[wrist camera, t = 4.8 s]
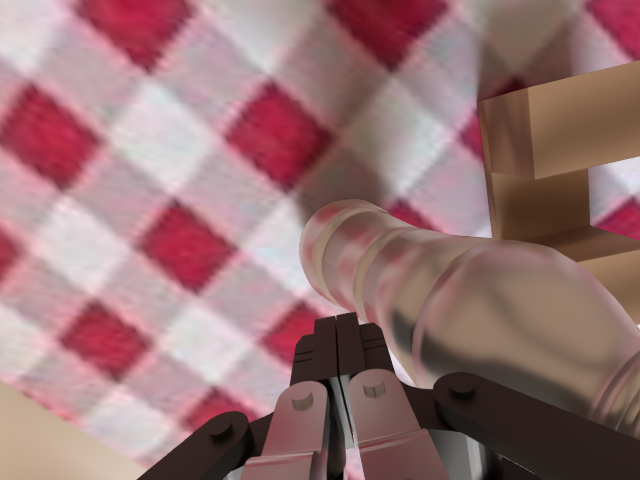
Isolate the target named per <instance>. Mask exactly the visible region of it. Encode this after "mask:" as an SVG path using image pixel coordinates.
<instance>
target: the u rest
mask: <svg viewBox="0 0 640 480" xmlns="http://www.w3.org/2000/svg"><path fill="white" fill-rule="evenodd" d="M477 106H478V115H479V123H480V132H481V141H482V150H483V158H484V167H485V176H486V185H487V193H488V202H489V211H490V220H491V228H492V237H493V238H494V239H505V240H517V241H522V242H528V243H534V244H540V245H543V246H547V247H550V248H553V249H555V250H556V251H558V252H560V253H561V254H563V255H565V256H566V257H568V258H570V259H571V260H573V261H575V262H576V263H578V264H579V265H581V266H583V267H584V268H586V269H587V270H589V271H590V272H591V273H592V274H593V275H594V276H595V277H596V278H597V279H598V280H599V282H600V283H601V284H602V285H603V286H604V287H605V288H606V289H607V290H608V291H609V292H610V293H611V294H612V295H613V296H614V297H615V298H616V300H617V301H618V302H619V303H620V304H621V306H622V307H623V308H624V309H625V311H626V312H627V313H628V315H629V316H630V317H631V319H632V320H633V321H634V323H635V324H636V325H638V324H640V241H638V240H635V239H632V238H628V237H625V236H622V235H619V234H615V233H612V232H609V231H606V230H602V229H599V228H596V227H592V226H590V209H589V185H588V168H589V167H594V166H598V165H603V164H607V163H612V162H616V161H621V160H625V159H629V158H634V157H638V156H640V61H636V62H632V63H627V64H623V65H619V66H615V67H611V68H607V69H603V70H598V71H594V72H590V73H586V74H582V75H578V76H574V77H569V78H565V79H561V80H557V81H553V82H549V83H545V84H540V85H536V86H532V87H528V88H524V89H521V90H517V91H514V92H510V93H507V94H503V95H500V96H496V97H493V98H489V99H486V100H482V101H479V102H477Z"/></svg>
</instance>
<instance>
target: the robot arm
mask: <svg viewBox="0 0 640 480" xmlns="http://www.w3.org/2000/svg"><path fill="white" fill-rule="evenodd" d="M336 319H337V321H336ZM293 362H294V364H293V367H292V374H291V380H290V387H289V388H287V389H286V390H285V391H284V392H283V393H282V394H281V395H280V396H279V398H278V400H277V404H276V407H275V410H274V412H272V413H271V414H269V415H267V416H265V417H262V418H260V419H258V420H255V421H253V422H250V423H249V421H248V418H247V416H246V415H245V414H243V413H241V412H237V411H231V412H225V413H222V414H219V415H217V416H215V417H213V418H212V419H210V420H209V421H207V422H206V423H205V424H204V425H203V426H201V427H200V428H199V429H198V430H196V431H195V432H194V433H193V434H192V435H190V436H189V437H188V438H187V439H185V440H184V441H183V442H182V443H181V444H179V445H178V446H177V447H176V448H174V449H173V450H172V451H171V452H170V453H168V454H167V455H166V456H165V457H163V458H162V459H161V460H160V461H159V462H157V463H156V464H155V465H154V466H153V467H151V468H150V469H149V470H148V471H146V472H145V473H144V474H143V475H142V476H140V477H139V478H138V479H137V480H348V474H347V469H346V465H345V464H346V450H345V449H348V448H354V439H353V434H354V438H355V442H356V446H357V447H359V452H360V457H361V462H362V467H363V472H364V477H365V480H640V440H638V439H636V438H633V437H631V436H628V435H626V434H623V433H621V432H618V431H616V430H613V429H611V428H608V427H606V426H603V425H601V424H598V423H596V422H593V421H591V420H588V419H586V418H583V417H581V416H578V415H576V414H573V413H571V412H568V411H566V410H563V409H561V408H558V407H556V406H553V405H551V404H548V403H546V402H543V401H541V400H538V399H536V398H533V397H531V396H528V395H526V394H523V393H521V392H519V391H516V390H514V389H511V388H509V387H506V386H504V385H501V384H499V383H496V382H494V381H491V380H489V379H486V378H484V377H481V376H479V375H476V374H472V373H467V372H454V373H449V374H446V375H444V376H442V377H440V378H439V379H438V380H437V381H436V382H435V383H434V385H433V389H423V388H416V387H412V386H409V385H407V384H405V383H403V382H402V381H400V380H399V378H398V377H397V376H396V374H395V371H394V368H393V364H392V361H391V358H390V354H389V351H388V348H387V344H386V341H385V338H384V334H383V331H382V328H380V327H379V326H378V325H376V324H375V323H374V322H372V323H367V324H362V325H359V322H358V318H357V313H356V312H351V313H346V314H341V315H336V317H335V316H331V317H325V318H320V319H315V326H314V334H310V335H305V336H302V338H301V339H300V340H299V342H298V343H297V344H296V348H295V356H294V361H293ZM503 456H504V457H503ZM505 457H506V458H505ZM507 458H508V459H509V460H508V459H507ZM510 460H511V461H510ZM512 461H513V462H512ZM514 462H515V463H514ZM516 463H517V464H518V465H517V464H516ZM519 465H520V466H519ZM521 466H522V467H521ZM523 467H524V468H523ZM526 469H528V470H529V471H528V470H526ZM530 471H531V472H530ZM532 472H533V473H534V474H533V473H532ZM535 474H536V475H535Z"/></svg>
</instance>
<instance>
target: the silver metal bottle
mask: <svg viewBox="0 0 640 480" xmlns="http://www.w3.org/2000/svg"><path fill="white" fill-rule="evenodd" d="M299 255H300V262H301V265H302V268H303V270H304V273H305V275H306V277H307V279H308V281H309V283H310V284H311V286H312V287H313V288H314V290H315V291H316V292H317V293H318V294H320V295H321V296H323V297H324V298H326V299H327V300H329V301H330V302H332V303H334V304H335V305H338V306H340V307H343V308H345V309H347V310H348V311H350V312H356V313H357V317H358V318H359V319H361V320H362V321H364V322H365V323H366V324H367V323H372V322H374V323H375V324H376V325H378V326H379V327H380V328H382V331H383V334H384V338H385V341H386V344H387V347H388V348H389V349H390V350H391V352H392V353H393V354H394V356H395V357H396V359H397V360H398V361H399V363H400V364H401V366H402V367H403V368H404V370H405V371H406V373H407V374H408V375H409V377H410V378H411V379H412V381H413V382H414V384H415V385H416V386H417V388H423V389H433V385H434V383H435V382H436V381H437V380H438V379H439V378H440V377H442V376H444V375H446V374H449V373H454V372H467V373H472V374H476V375H479V376H481V377H484V378H486V379H489V380H491V381H494V382H496V383H499V384H501V385H504V386H506V387H509V388H511V389H514V390H516V391H519V392H521V393H523V394H526V395H528V396H531V397H533V398H536V399H538V400H541V401H543V402H546V403H548V404H551V405H553V406H556V407H558V408H561V409H563V410H566V411H568V412H571V413H573V414H576V415H578V416H581V417H583V418H586V419H588V420H591V421H593V422H596V423H598V424H601V425H603V426H606V427H608V428H611V429H613V430H616V431H618V432H621V433H623V434H626V435H628V436H631V437H633V438H636V439H638V440H640V329H639V328H638V327H637V325H636V324H635V323H634V321H633V320H632V319H631V317H630V316H629V315H628V313H627V312H626V311H625V309H624V308H623V307H622V306H621V304H620V303H619V302H618V301H617V300H616V298H615V297H614V296H613V295H612V294H611V293H610V292H609V291H608V290H607V289H606V288H605V287H604V286H603V285H602V284H601V283H600V282H599V280H598V279H597V278H596V277H595V276H594V275H593V274H592V273H591V272H590V271H589V270H587V269H586V268H584V267H583V266H581V265H579V264H578V263H576V262H575V261H573V260H571V259H570V258H568V257H566V256H565V255H563V254H561V253H560V252H558V251H556V250H555V249H553V248H550V247H547V246H543V245H540V244H534V243H528V242H522V241H517V240H505V239H494V238H482V237H470V236H458V235H450V234H445V233H441V232H436V231H431V230H426V229H422V228H417V227H415V226H412V225H410V224H408V223H406V222H404V221H401V220H399V219H397V218H395V217H393V216H392V215H391V214H389V213H388V212H387V211H385V210H383V209H382V208H380V207H378V206H376V205H374V204H372V203H371V202H368V201H365V200H361V199H346V200H340V201H334V202H331V203H329V204H327V205H325V206H323V207H322V208H320V209H319V210H317V211H316V212H315V213H314V214H313V215H312V216H311V218H310V219H309V221H308V222H307V223H306V225H305V227H304V230H303V232H302V235H301V239H300V244H299Z"/></svg>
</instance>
